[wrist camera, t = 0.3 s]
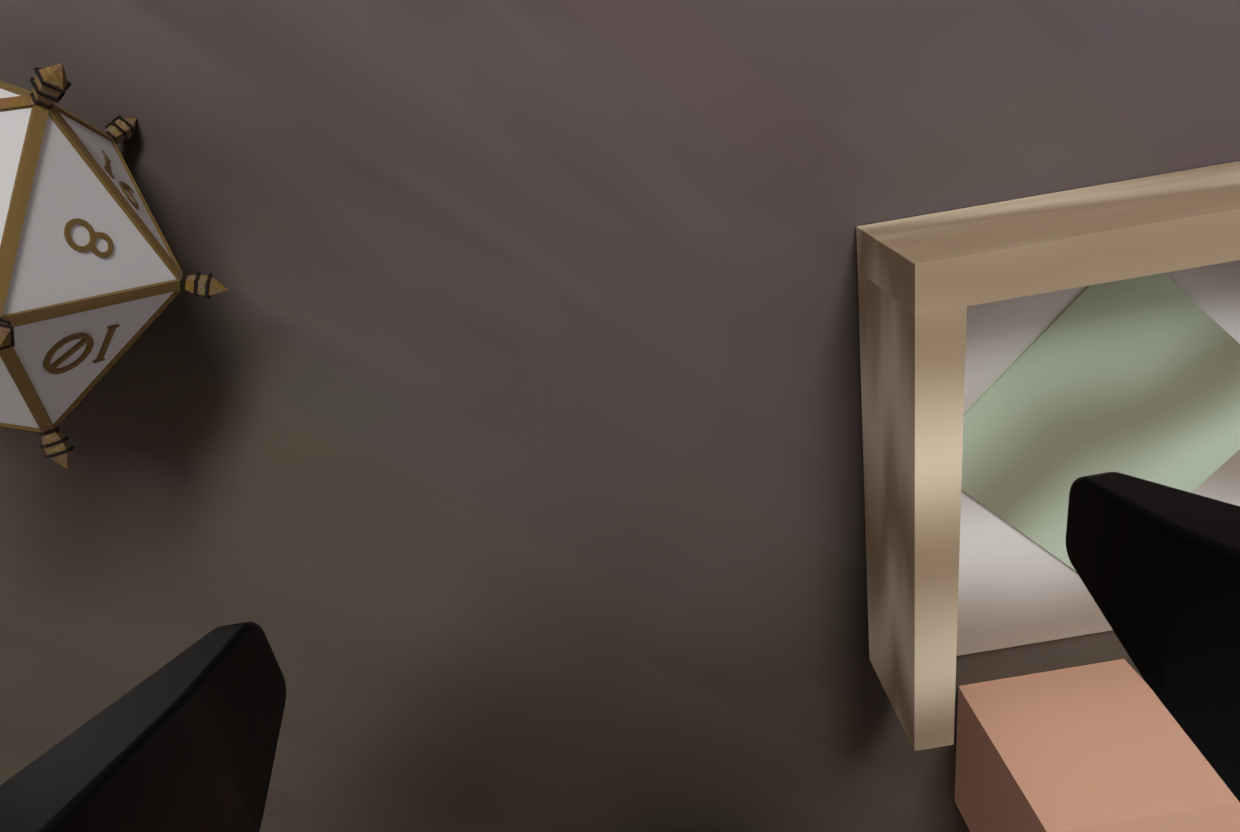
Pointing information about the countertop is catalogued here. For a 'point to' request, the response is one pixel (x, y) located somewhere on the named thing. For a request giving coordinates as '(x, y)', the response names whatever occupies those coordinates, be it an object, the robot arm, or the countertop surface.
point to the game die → (71, 258)
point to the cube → (1082, 758)
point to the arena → (1032, 405)
